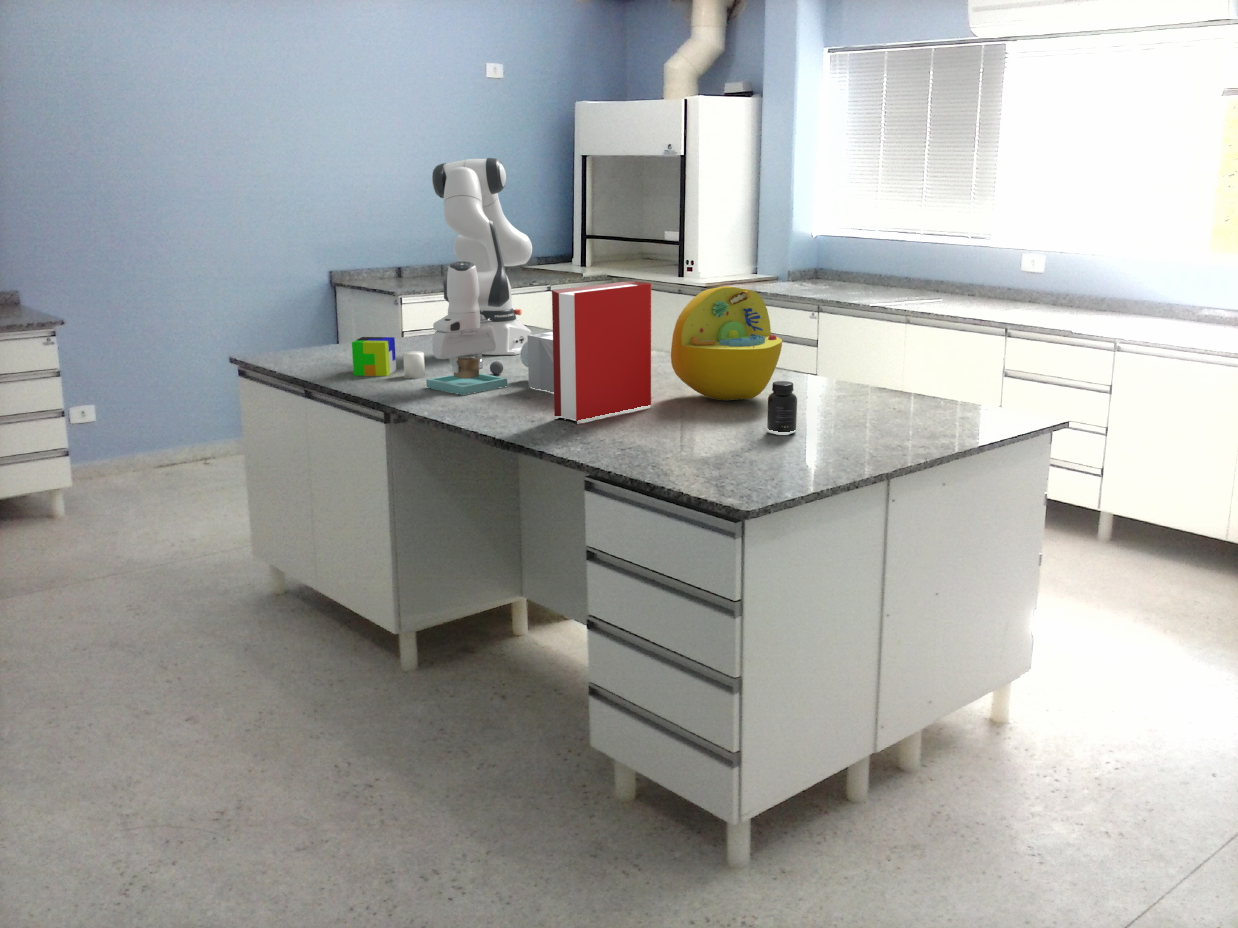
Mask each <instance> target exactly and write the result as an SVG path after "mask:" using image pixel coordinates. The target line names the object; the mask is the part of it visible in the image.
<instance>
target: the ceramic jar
mask: <svg viewBox="0 0 1238 928" xmlns="http://www.w3.org/2000/svg"><path fill="white" fill-rule="evenodd" d="M402 357H403V376H404V377H403V378H404V379H410V378H412V379H415V378H416V379H422V378H425V377H426V372H425V371H426V368H425V367H426V366H425V352H423V351H417V350H416V351H412V350H411V351H406V352H403V353H402Z"/></svg>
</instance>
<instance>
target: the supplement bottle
mask: <svg viewBox="0 0 1238 928" xmlns="http://www.w3.org/2000/svg"><path fill="white" fill-rule="evenodd" d="M771 386H772V388H771V391H772V393H770V394H769V395H768V397H767V418H766V420H767V422H766V423H767V428H768V429H769V430H773V431H778V432H790V431H794V430H796V431H797V419H798V418H797V417H798V416H797V415H798V414H797V413H798V398H797V396H796V394H795V393H793V392H794V391H795V390H794V383H793V382H792V381H787V380H777V381H773V382H772V385H771ZM767 428H766V429H767Z"/></svg>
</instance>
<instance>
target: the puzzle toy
mask: <svg viewBox="0 0 1238 928" xmlns="http://www.w3.org/2000/svg"><path fill="white" fill-rule="evenodd" d="M395 338H396V337H394V336H391V337H389V336H387V337H386V336H361V337H359V338H357V339H356V340H355V339H354V340H353V341H352V342H351V349H352V350H351V352H352V366H353V369H352V370H353V376H355V377H356V376H364V377H372V376H373V377H388V376H389V375H391V374H392V373H393V372H395V371H397V360H396V359H397V358H396V342H395V341H396V340H395ZM390 373H391V374H390Z"/></svg>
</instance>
